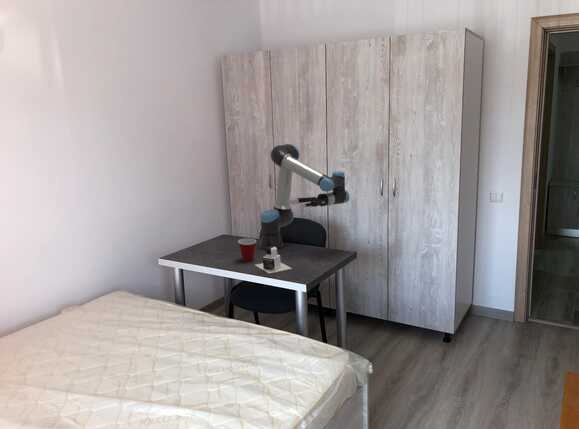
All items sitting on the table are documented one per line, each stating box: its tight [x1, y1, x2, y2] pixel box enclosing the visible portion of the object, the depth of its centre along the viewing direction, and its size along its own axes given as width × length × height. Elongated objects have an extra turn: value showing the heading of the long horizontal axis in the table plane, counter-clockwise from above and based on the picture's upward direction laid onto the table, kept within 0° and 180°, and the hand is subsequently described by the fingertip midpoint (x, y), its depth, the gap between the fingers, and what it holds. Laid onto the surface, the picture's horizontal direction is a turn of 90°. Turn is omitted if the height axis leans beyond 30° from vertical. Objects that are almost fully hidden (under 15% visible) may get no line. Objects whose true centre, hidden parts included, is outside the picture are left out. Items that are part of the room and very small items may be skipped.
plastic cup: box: [237, 238, 257, 263], centre depth 277 cm, size 11×11×12 cm
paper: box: [254, 262, 292, 274], centre depth 264 cm, size 18×14×1 cm
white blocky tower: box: [262, 247, 282, 271], centre depth 259 cm, size 7×7×12 cm
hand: (294, 203), depth 273 cm, fingers open, 13 cm apart
